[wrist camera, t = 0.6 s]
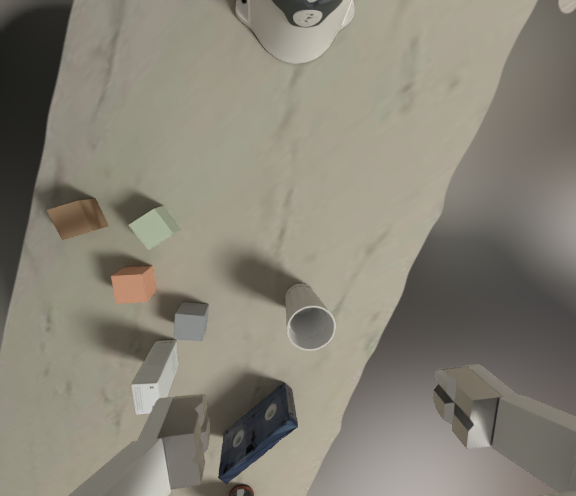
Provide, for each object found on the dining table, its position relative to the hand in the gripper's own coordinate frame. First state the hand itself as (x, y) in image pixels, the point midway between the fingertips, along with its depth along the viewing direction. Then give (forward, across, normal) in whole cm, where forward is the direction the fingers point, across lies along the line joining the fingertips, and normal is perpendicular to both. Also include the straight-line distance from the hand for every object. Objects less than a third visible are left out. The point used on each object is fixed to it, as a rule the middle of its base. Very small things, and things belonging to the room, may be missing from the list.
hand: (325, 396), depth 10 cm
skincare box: (+45, +22, +25) cm, 56 cm away
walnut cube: (+44, +32, -3) cm, 54 cm away
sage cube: (+44, +20, -1) cm, 48 cm away
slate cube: (+44, +16, +17) cm, 50 cm away
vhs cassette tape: (+45, +5, +42) cm, 61 cm away
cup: (+44, -5, +16) cm, 47 cm away
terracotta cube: (+44, +25, +9) cm, 52 cm away
